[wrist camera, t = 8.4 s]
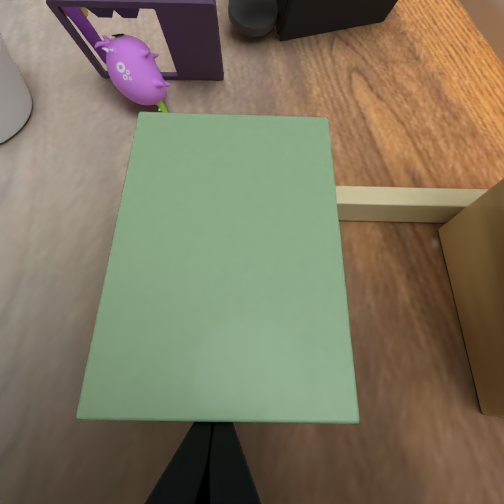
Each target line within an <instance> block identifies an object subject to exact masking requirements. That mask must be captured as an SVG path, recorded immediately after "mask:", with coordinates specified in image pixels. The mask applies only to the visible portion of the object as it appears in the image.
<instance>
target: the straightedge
mask: <svg viewBox="0 0 504 504" xmlns="http://www.w3.org/2000/svg"><path fill="white" fill-rule="evenodd" d="M335 189H336V199H337V209H338V218H339V220H349V221H390V222H431V223H447V222H448V221H449V220H451V219H452V218H453V217H454V216H456V215H457V214H458V213H460V212H461V211H462V210H463V209H465V208H466V207H467V206H469V205H470V204H471V203H472V202H474V201H475V200H476V199H478V198H479V197H480V196H481V195H483V194H484V193H485V192H487V191H488V190H482V189H444V188H405V187H367V186H335Z"/></svg>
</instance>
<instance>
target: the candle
mask: <svg viewBox="0 0 504 504" xmlns="http://www.w3.org/2000/svg"><path fill="white" fill-rule="evenodd" d="M31 109H32V99H31V95H30V92H29V90H28V88H27V86H26V84H25V81H24V79H23V77H22V75H21V73H20V71H19V69H18V67H17V65H16V63H15V61H14V59H13V57H12V55H11V53H10V51H9V49H8V48H7V46H6V44H5V42H4V40H3V38H2V36H1V34H0V143H2V142H4V141H6V140H7V139H9V138H10V137H12V136H13V135H14V134H16V133H17V132H18V131H19V130H20V129H21V128H22V127H23V125H24V124H25V123H26V121H27V120H28V118H29V116H30V113H31Z"/></svg>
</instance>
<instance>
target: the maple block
mask: <svg viewBox="0 0 504 504" xmlns="http://www.w3.org/2000/svg"><path fill="white" fill-rule="evenodd" d="M438 232H439V236H440V240H441V244H442V249H443V253H444V257H445V261H446V265H447V270H448V274H449V278H450V282H451V286H452V290H453V295H454V299H455V303H456V307H457V311H458V316H459V320H460V324H461V328H462V332H463V337H464V341H465V345H466V349H467V353H468V357H469V362H470V366H471V370H472V374H473V378H474V383H475V387H476V391H477V395H478V399H479V403H480V408H481V412H482V414H484V415H491V416H498V417H504V178H503V179H502V180H501V181H499V182H498V183H497V184H496V185H494V186H493V187H492V188H490V189H489V190H488V191H487V192H485V193H484V194H483V195H481V196H480V197H479V198H478V199H476V200H475V201H474V202H472V203H471V204H470V205H469V206H467V207H466V208H465V209H463V210H462V211H461V212H460V213H458V214H457V215H456V216H454V217H453V218H452V219H451V220H449V221H448V222H447V223H445V224H444V225H443V226H442V227H440V228H439V229H438Z"/></svg>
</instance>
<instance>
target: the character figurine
mask: <svg viewBox="0 0 504 504" xmlns="http://www.w3.org/2000/svg"><path fill="white" fill-rule="evenodd" d="M397 1H398V0H229V9H228V13H229V18H230V21H231V23H232V24H233V26H234V27H235V28H236V29H237V30H238V31H239V32H241V33H242V34H244V35H247V36H251V37H259V36H263V35H265V34H267V33H268V32H270V31H271V30H272V28H273V27H274V25H275V27H276V30H277V33H278V34H279V37H280V40H281V41H284V40H289V39H294V38H300V37H305V36H310V35H315V34H320V33H325V32H331V31H336V30H341V29H346V28H351V27H356V26H361V25H367V24H372V23H377V22H382V21H384V20H385V18H386V17H387V15H388V14H389V12H390V11H391V10H392V8H393V7H394V5H395V4H396V2H397Z"/></svg>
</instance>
